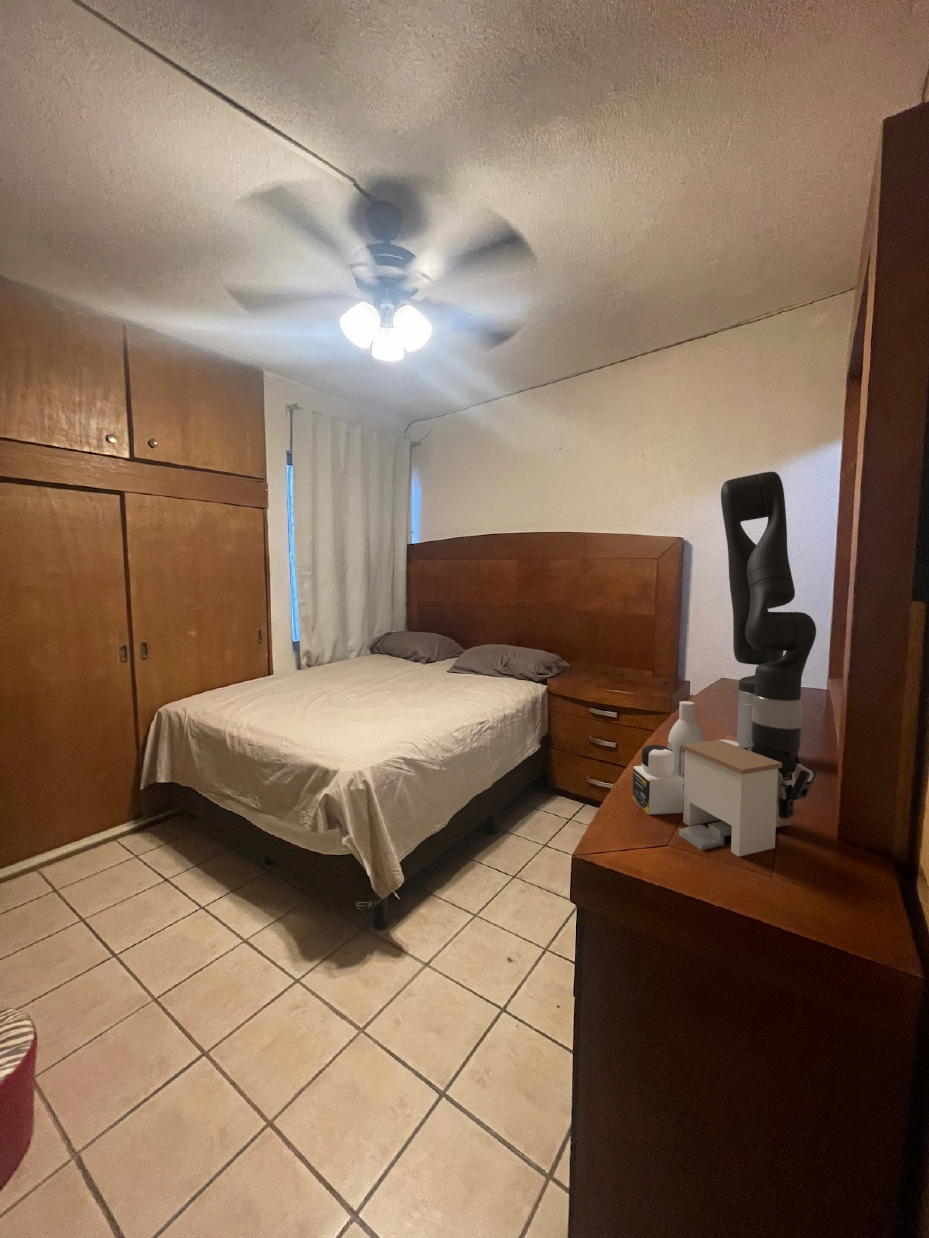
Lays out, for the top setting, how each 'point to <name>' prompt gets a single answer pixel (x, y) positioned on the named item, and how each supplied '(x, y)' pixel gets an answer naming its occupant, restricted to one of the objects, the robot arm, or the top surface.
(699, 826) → the plate
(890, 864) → the top surface
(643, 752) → the medicine bottle
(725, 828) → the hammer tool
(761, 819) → the cabinet
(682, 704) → the bath foam
